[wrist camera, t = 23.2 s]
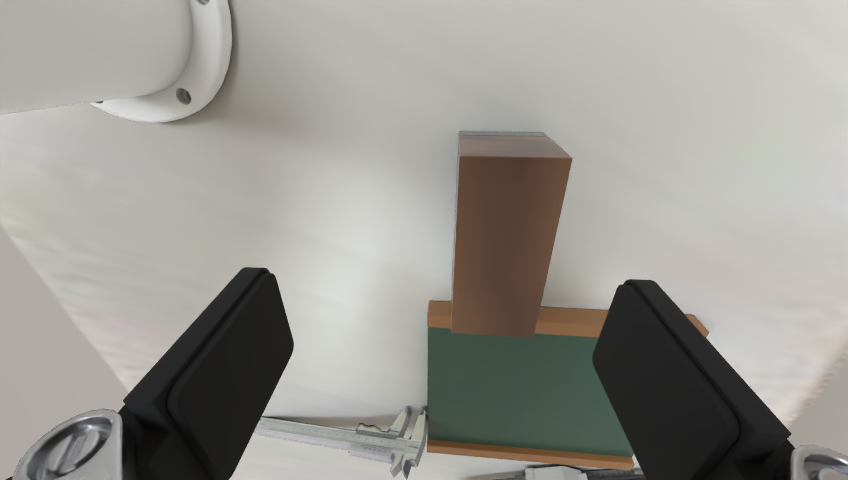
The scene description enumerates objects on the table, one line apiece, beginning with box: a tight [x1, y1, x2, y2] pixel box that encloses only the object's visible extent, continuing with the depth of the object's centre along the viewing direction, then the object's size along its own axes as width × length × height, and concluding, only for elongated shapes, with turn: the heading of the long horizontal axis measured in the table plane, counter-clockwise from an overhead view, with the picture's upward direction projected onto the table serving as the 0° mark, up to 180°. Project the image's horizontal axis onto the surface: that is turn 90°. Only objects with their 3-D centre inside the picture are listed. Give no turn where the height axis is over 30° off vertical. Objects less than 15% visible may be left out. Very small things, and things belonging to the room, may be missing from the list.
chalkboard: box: [427, 301, 709, 470], centre depth 29 cm, size 20×18×2 cm
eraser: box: [451, 131, 572, 338], centre depth 20 cm, size 5×11×6 cm, turn 0°
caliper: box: [254, 406, 428, 480], centre depth 33 cm, size 20×1×6 cm, turn 104°
